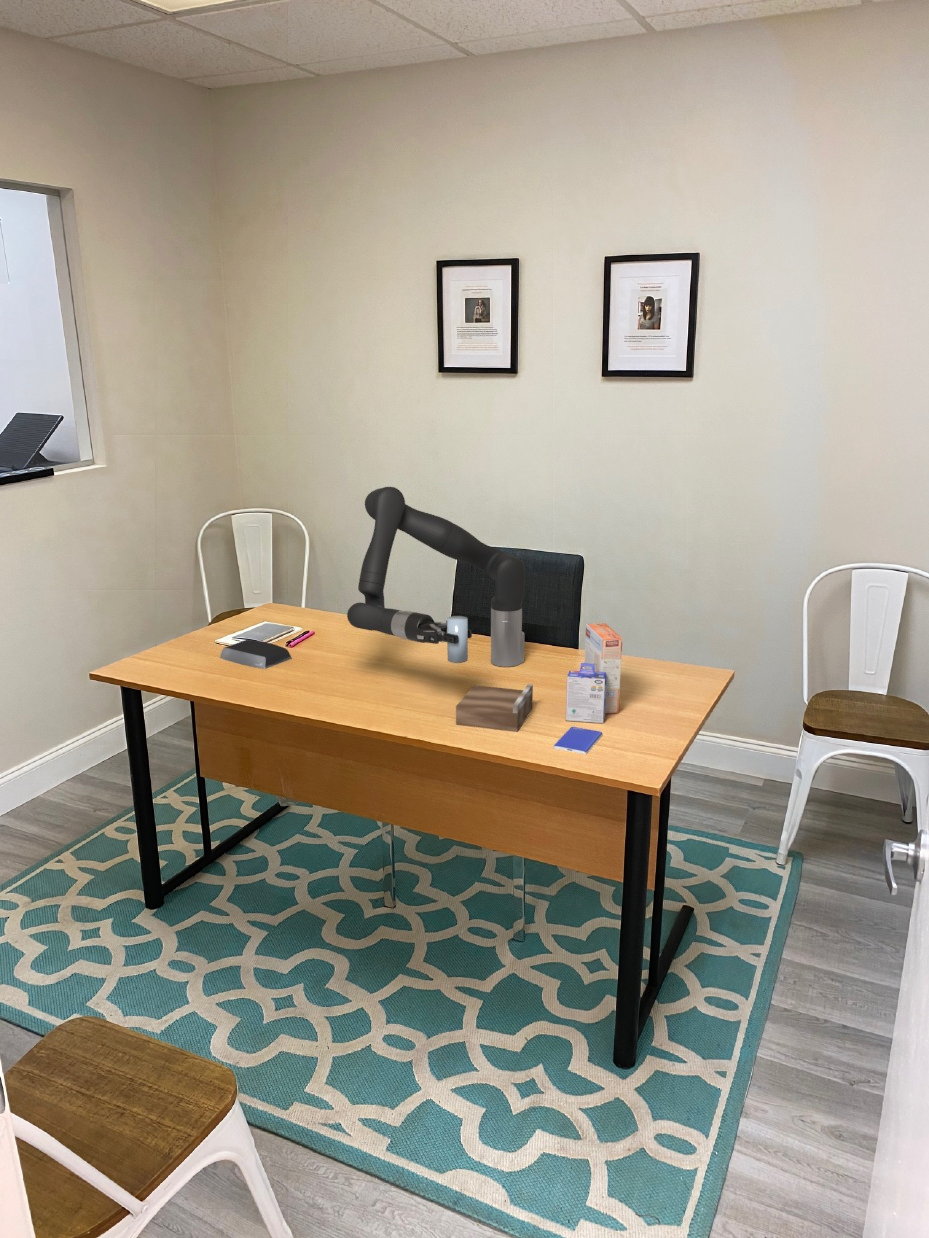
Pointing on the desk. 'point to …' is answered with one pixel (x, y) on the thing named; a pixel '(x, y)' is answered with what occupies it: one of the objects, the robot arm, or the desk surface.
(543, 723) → the desk surface
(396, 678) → the desk surface
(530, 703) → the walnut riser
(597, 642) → the cracker box
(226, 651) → the external hard drive
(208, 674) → the desk surface
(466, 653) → the pale blue cylinder
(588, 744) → the hard drive
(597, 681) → the ink cartridge box
